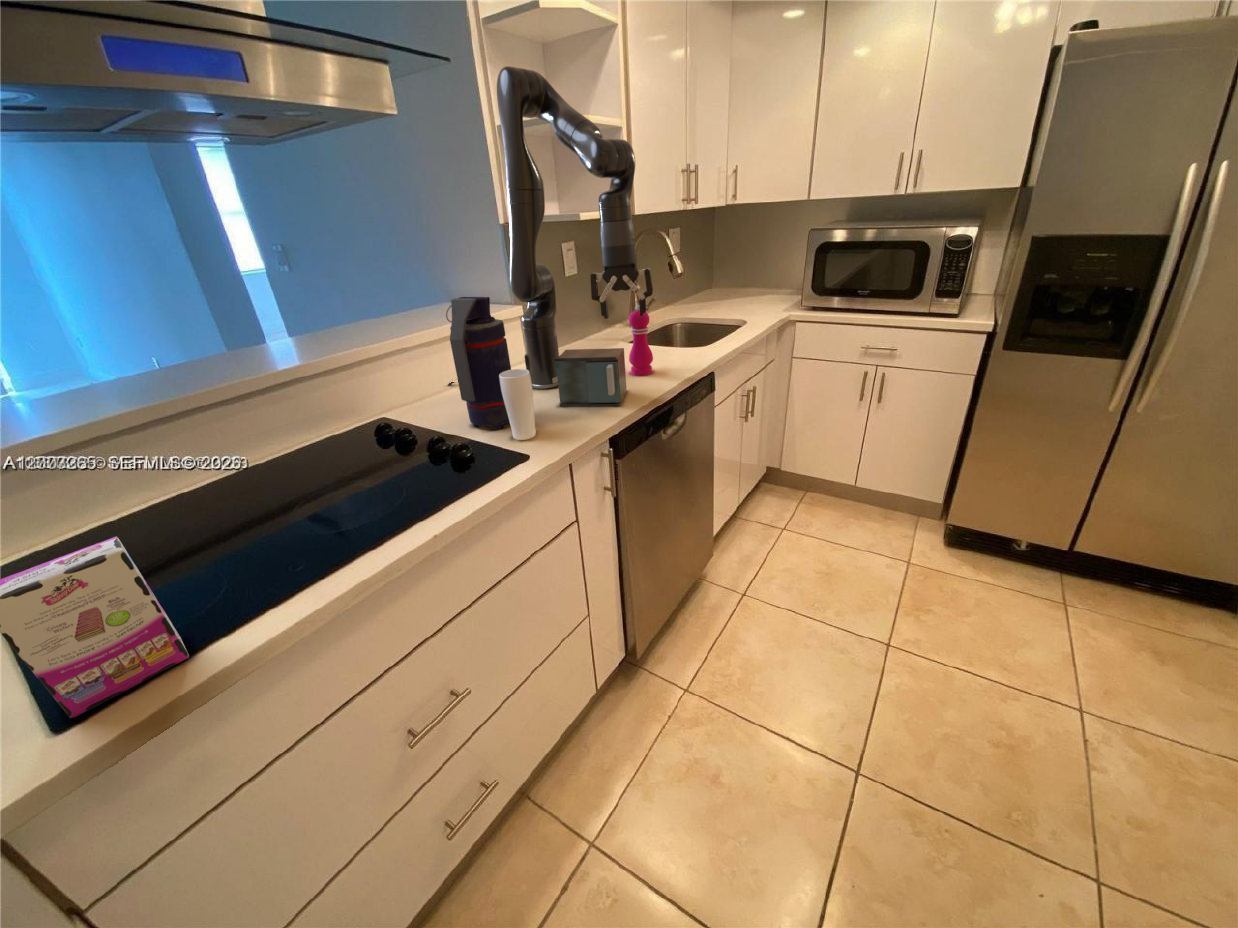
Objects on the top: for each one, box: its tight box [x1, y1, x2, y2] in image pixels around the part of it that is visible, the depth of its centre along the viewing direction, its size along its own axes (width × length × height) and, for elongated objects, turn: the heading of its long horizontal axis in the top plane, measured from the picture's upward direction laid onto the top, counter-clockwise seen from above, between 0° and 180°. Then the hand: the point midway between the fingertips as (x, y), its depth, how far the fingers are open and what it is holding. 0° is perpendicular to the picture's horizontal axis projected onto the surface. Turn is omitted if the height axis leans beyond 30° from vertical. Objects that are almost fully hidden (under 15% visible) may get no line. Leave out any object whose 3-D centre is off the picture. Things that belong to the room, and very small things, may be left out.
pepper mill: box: [628, 304, 654, 377], centre depth 154 cm, size 7×7×20 cm
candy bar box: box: [0, 536, 190, 719], centre depth 58 cm, size 11×5×16 cm, turn 138°
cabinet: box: [554, 347, 628, 408], centre depth 137 cm, size 16×12×13 cm
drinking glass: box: [499, 368, 537, 441], centre depth 116 cm, size 7×7×15 cm
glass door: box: [585, 362, 620, 403], centre depth 130 cm, size 8×4×10 cm, turn 80°
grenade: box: [445, 296, 512, 430], centre depth 122 cm, size 14×12×30 cm
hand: (624, 316), depth 124 cm, fingers open, 8 cm apart
